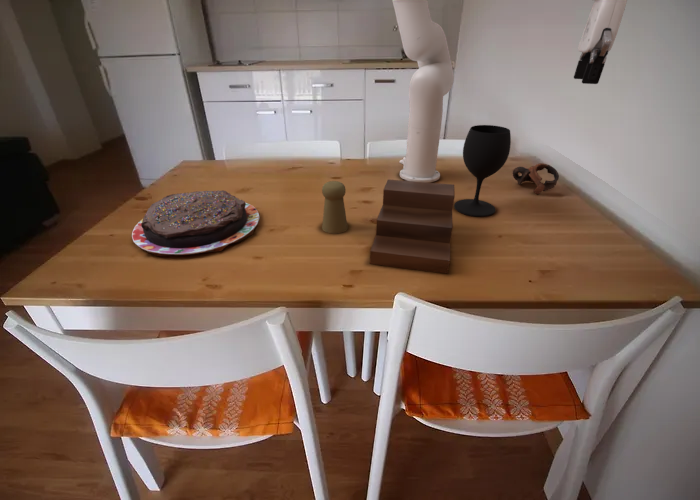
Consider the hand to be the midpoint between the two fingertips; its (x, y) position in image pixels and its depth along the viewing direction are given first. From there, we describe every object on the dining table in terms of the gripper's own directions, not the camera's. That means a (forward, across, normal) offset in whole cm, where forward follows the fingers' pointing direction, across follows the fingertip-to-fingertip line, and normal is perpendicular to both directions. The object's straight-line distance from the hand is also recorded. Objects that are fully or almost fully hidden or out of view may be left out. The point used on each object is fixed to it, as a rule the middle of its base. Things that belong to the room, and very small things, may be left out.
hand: (584, 81), depth 83 cm
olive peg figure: (+30, +36, -50) cm, 68 cm away
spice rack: (+30, +37, -31) cm, 56 cm away
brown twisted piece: (+29, -6, -4) cm, 30 cm away
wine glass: (+30, +14, -19) cm, 38 cm away
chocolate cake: (+30, +46, -80) cm, 97 cm away
